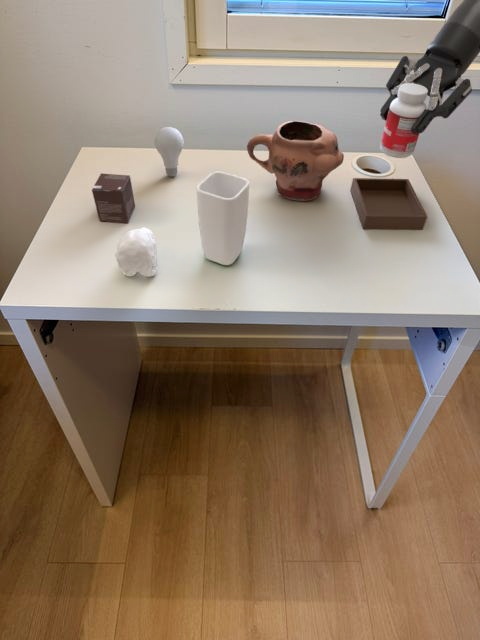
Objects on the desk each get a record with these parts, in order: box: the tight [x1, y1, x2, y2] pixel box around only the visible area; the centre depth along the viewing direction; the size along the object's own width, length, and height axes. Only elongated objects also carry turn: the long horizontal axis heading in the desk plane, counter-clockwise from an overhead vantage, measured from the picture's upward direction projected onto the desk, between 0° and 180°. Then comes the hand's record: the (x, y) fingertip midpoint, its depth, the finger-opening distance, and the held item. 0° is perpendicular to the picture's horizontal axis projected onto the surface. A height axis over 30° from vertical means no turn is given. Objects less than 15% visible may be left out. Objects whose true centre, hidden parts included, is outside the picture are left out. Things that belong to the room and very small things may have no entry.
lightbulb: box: [154, 126, 185, 178], centre depth 101 cm, size 6×6×11 cm
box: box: [91, 173, 136, 224], centre depth 92 cm, size 6×6×7 cm
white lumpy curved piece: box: [114, 226, 157, 278], centre depth 82 cm, size 6×8×12 cm
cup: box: [196, 170, 250, 266], centre depth 81 cm, size 7×7×15 cm
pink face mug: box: [246, 120, 345, 201], centre depth 98 cm, size 20×12×14 cm, turn 87°
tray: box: [350, 177, 428, 231], centre depth 98 cm, size 14×12×3 cm
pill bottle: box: [379, 83, 428, 159], centre depth 82 cm, size 6×6×11 cm
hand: (398, 124), depth 81 cm, fingers closed on pill bottle, 6 cm apart
